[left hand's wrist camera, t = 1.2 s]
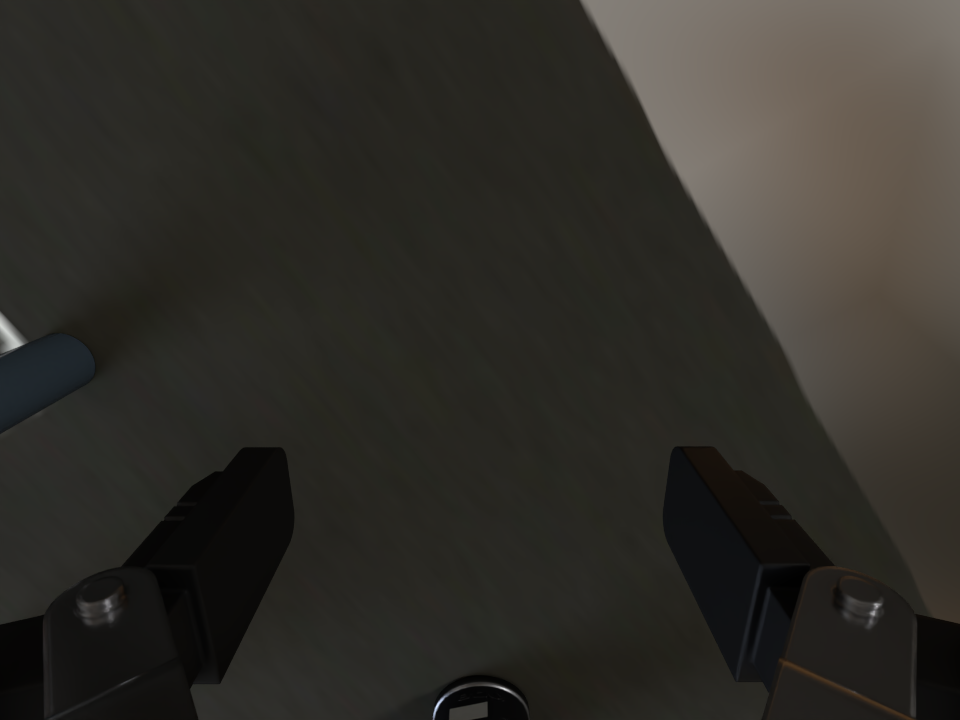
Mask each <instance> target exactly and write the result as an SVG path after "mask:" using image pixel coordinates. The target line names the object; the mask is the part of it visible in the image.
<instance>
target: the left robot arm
mask: <svg viewBox="0 0 960 720" xmlns="http://www.w3.org/2000/svg"><path fill="white" fill-rule="evenodd" d="M663 526H664V532H665V536H666V539H667V542H668V544H669V546H670V548H671V550H672V552H673V554H674V556H675V558H676V560H677V563H678V565H679V567H680V569H681V571H682V573H683V575H684V577H685V579H686V581H687V583H688V585H689V587H690V589H691V591H692V593H693V595H694V597H695V599H696V601H697V603H698V605H699V608H700V610H701V612H702V614H703V616H704V618H705V620H706V622H707V624H708V626H709V628H710V630H711V632H712V634H713V636H714V638H715V640H716V642H717V644H718V646H719V648H720V650H721V653H722V655H723V657H724V659H725V661H726V663H727V665H728V667H729V669H730V671H731V673H732V675H733V677H734V679H735V681H736V682H763V683H764V685H765V687H766V689H767V691H768V693H769V695H768V699H767V702H766V706H765V709H764V713H763V716H762V719H761V720H960V624H958V623H954V622H949V621H945V620H940V619H936V618H931V617H927V616H922V615H918V614H915V613H914V611H913V609H912V608H911V606H910V605H909V603H908V602H907V601H906V600H905V599H904V598H903V597H902V596H901V595H900V594H898V593H897V592H896V591H895V590H893V589H892V588H890V587H889V586H887V585H886V584H884V583H882V582H881V581H879V580H877V579H875V578H873V577H871V576H868V575H866V574H864V573H861V572H858V571H855V570H851V569H847V568H842V567H835V565H834V564H833V563H832V562H831V561H830V560H829V559H828V557H827V556H826V555H825V554H824V553H823V552H822V550H821V549H820V548H819V547H818V546H817V545H816V544H815V542H814V541H813V540H812V539H811V538H810V537H809V536H808V534H807V533H806V532H805V531H804V530H803V529H802V528H801V526H800V525H799V524H798V523H797V522H796V521H795V520H792V518H791V515H790V514H789V513H788V511H787V510H786V509H785V508H784V507H783V506H782V505H779V501H778V500H777V499H776V498H775V497H774V495H773V494H772V493H771V492H770V491H769V490H768V488H767V487H766V486H765V485H764V484H762V483H761V482H759V481H757V480H756V479H754V478H753V477H751V476H749V475H748V474H746V473H745V472H743V471H734V470H733V469H732V468H731V467H730V465H729V464H728V463H727V462H726V460H725V459H724V458H723V457H722V456H721V454H720V453H719V452H718V451H717V449H716V448H714V447H675V448H674V449H673V451H672V453H671V457H670V464H669V471H668V478H667V486H666V493H665V500H664V508H663ZM293 528H294V507H293V500H292V493H291V486H290V478H289V471H288V464H287V458H286V454H285V451H284V450H283V449H282V448H280V447H245V448H242V449H241V450H240V451H239V452H238V454H237V455H236V456H235V457H234V459H233V460H232V461H231V462H230V463H229V465H228V466H227V467H226V468H225V470H224V471H223V472H214V473H212V474H210V475H209V476H207V477H206V478H204V479H202V480H201V481H199V482H198V483H196V484H195V485H193V486H192V487H191V488H190V489H189V490H188V491H187V492H186V493H185V495H184V496H183V497H182V498H181V499H180V500H179V501H178V503H177V506H174V507H173V508H172V509H171V511H170V512H169V513H168V514H167V515H166V516H165V520H164V521H161V522H160V523H159V524H158V525H157V526H156V528H155V529H154V530H153V531H152V532H151V533H150V534H149V536H148V537H147V538H146V539H145V540H144V541H143V542H142V544H141V545H140V546H139V547H138V548H137V549H136V550H135V552H134V553H133V554H132V555H131V556H130V557H129V558H128V559H127V561H126V562H125V563H124V564H123V565H122V566H121V567H118V568H113V569H109V570H105V571H102V572H99V573H96V574H94V575H92V576H89V577H87V578H85V579H83V580H81V581H79V582H78V583H76V584H74V585H73V586H71V587H70V588H68V589H67V590H65V591H64V592H63V593H62V594H60V595H59V596H58V597H57V598H56V599H55V600H54V601H53V602H52V603H51V605H50V606H49V608H48V609H47V611H46V613H45V615H41V616H37V617H33V618H28V619H24V620H19V621H15V622H10V623H6V624H1V625H0V720H199V719H198V716H197V713H196V709H195V706H194V702H193V699H192V695H191V692H190V688H191V686H192V684H220V683H221V681H222V679H223V677H224V675H225V673H226V671H227V669H228V667H229V665H230V663H231V661H232V659H233V657H234V655H235V653H236V651H237V649H238V647H239V645H240V642H241V640H242V638H243V636H244V634H245V632H246V630H247V628H248V626H249V624H250V622H251V620H252V618H253V616H254V614H255V612H256V610H257V608H258V606H259V604H260V602H261V600H262V598H263V596H264V594H265V592H266V590H267V588H268V586H269V584H270V582H271V580H272V578H273V576H274V574H275V572H276V570H277V568H278V566H279V564H280V562H281V560H282V558H283V556H284V554H285V552H286V550H287V547H288V545H289V543H290V541H291V538H292V534H293ZM433 720H530V717H529V706H528V702H527V700H526V698H525V696H524V694H523V693H522V692H521V691H520V690H519V689H518V688H517V687H516V686H514V685H513V684H511V683H509V682H507V681H505V680H502V679H499V678H495V677H488V676H474V677H468V678H464V679H461V680H458V681H456V682H454V683H452V684H450V685H449V686H447V687H446V688H445V689H444V690H443V691H442V692H441V693H440V694H439V696H438V697H437V699H436V701H435V705H434V714H433Z"/></svg>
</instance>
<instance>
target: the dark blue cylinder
mask: <svg viewBox="0 0 960 720" xmlns="http://www.w3.org/2000/svg"><path fill="white" fill-rule="evenodd" d="M94 373H95V361H94V358H93V356H92V354H91V352H90V351H89V349H88V348H87V347H86V346H85V345H84V344H83V343H82V342H81V341H79V340H78V339H76V338H74V337H72V336H70V335H66V334H61V333H54V334H49V335H46V336H44V337H41V338H39V339H36V340H34V341H32V342H29V343H27V344H24V345H22V346H19V347H17V348H14V349H12V350H10V351H7V352H5V353H2V354H0V434H1V433H3V432H5V431H6V430H8V429H10V428H12V427H13V426H15V425H17V424H19V423H20V422H22V421H24V420H25V419H27V418H29V417H31V416H32V415H34V414H36V413H38V412H39V411H41V410H43V409H45V408H46V407H48V406H50V405H52V404H53V403H55V402H57V401H58V400H60V399H62V398H64V397H65V396H67V395H69V394H71V393H72V392H74V391H76V390H78V389H79V388H81V387H83V386H85V385H86V384H88V383H89V382H90V381H91V379H92V378H93V376H94Z"/></svg>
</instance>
